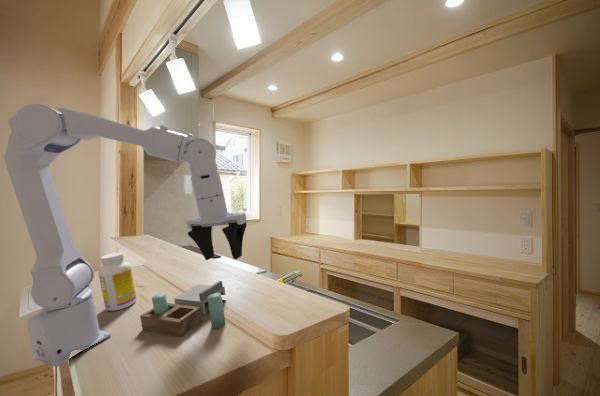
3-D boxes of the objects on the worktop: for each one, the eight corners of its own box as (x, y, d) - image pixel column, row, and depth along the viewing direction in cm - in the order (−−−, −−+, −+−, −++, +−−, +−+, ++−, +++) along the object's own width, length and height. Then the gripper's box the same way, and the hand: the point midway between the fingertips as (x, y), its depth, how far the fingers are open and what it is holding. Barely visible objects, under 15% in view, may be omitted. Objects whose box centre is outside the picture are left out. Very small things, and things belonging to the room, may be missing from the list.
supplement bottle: (141, 297, 74) (133, 249, 73) (127, 310, 68) (118, 257, 66) (115, 300, 74) (106, 252, 72) (99, 313, 67) (88, 261, 66)
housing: (204, 315, 60) (200, 294, 60) (176, 311, 64) (173, 291, 63) (226, 299, 67) (223, 280, 67) (200, 296, 70) (197, 278, 70)
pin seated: (162, 328, 58) (157, 299, 57) (153, 326, 59) (148, 298, 58) (173, 321, 60) (168, 294, 59) (164, 319, 61) (159, 292, 60)
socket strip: (181, 337, 53) (178, 322, 53) (142, 329, 58) (140, 315, 57) (202, 321, 59) (200, 307, 58) (165, 315, 63) (163, 302, 63)
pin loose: (219, 329, 55) (215, 299, 54) (208, 327, 56) (204, 298, 55) (228, 322, 57) (223, 293, 56) (217, 320, 58) (213, 292, 58)
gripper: (248, 189, 61) (261, 250, 62) (197, 196, 67) (210, 252, 68) (228, 195, 54) (243, 262, 56) (173, 203, 60) (188, 263, 62)
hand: (223, 257), depth 62 cm, fingers open, 7 cm apart
